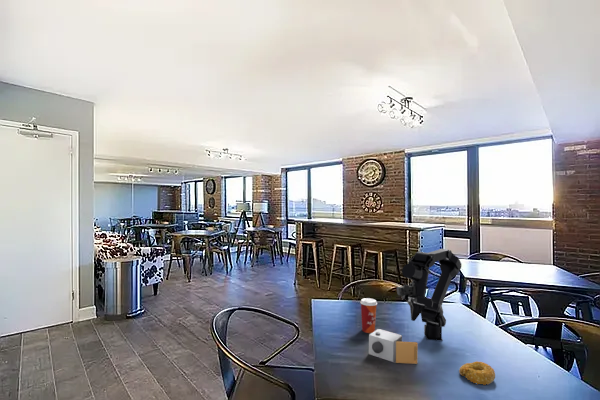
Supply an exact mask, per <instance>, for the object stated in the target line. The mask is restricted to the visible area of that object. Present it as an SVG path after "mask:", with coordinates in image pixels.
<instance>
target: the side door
mask: <svg viewBox="0 0 600 400" xmlns="http://www.w3.org/2000/svg"><path fill="white" fill-rule="evenodd" d="M418 344H419V343H418V342H416V341H402V342H401V341H394V362H393V363H394V364H412V365H415V364H416V365H417V364H418V354H419V353H418V346H419V345H418Z"/></svg>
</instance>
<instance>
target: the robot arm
mask: <svg viewBox="0 0 600 400" xmlns="http://www.w3.org/2000/svg"><path fill="white" fill-rule="evenodd" d="M436 262H438V264H439V265H440V266H439V269H440V272H441V273H440V275H439V277H438V281H437V283H436V285H435V288H434V291H433V293H432V296H431V297H430V298H429V297H427V296H426V291H427V290H428V289H429V287H428V280H429V275H431V274H432V272H431V270H430V268H432V267H433V266H435V263H436ZM461 269H462V262H461V259H460V258H459V257H458V256H456V255H455V254H454V253H453V252H452V250H450V249H446V248H439V249H436V250H432V251H429V252H424V251H423V252H422V251H417V252H415V254H414V255H413V256H412V258H411V259H410V260H408V261H407V263H406V264H405V265H404V266H403V267H402V268H401V273H402V275H403V278H407V279H409V280H412V281H411V282H410V283H409V285H408V284H406V285H404V284H403V286H396V293H397V296H400V297H401V299H402V300H406V303H407V304H408V306H409V311H410V321H412V322H415V321H416V320H417V318H418V317H419V316H420V317H421V322H422V323H425V324H424V326H423V329H424V331H423V334H424V336H425V339H426V340H430V341H440V342H443V336H442V335H443V332H442V331H443V327H444V328H445V327H446V323H447V319H446V317H445V316H444V309H443V303H444V300H445V299H446V298H445V297H446V295H447V292H448V289H449V288H450V285H451V281H452V280H453V278H454V277H456V276H457V275H458V274H459V272H460V271H461Z"/></svg>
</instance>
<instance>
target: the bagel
mask: <svg viewBox="0 0 600 400" xmlns="http://www.w3.org/2000/svg"><path fill="white" fill-rule="evenodd" d="M458 372H459V374H460V375H461V376H462V377H463V376H465V377H464V378H465V379H466V378H467V379H466V380H467V381H468V380H470V381H469V382H471V383H472V382H473V383H472V384H474V383H477V384H476V385H478V384H483V385H482V386H487V385H490V384H492V383H493V382H494V381H495V379H496V372H495V369H494V368H493V367H492V366H490V365H489V364H487V363H486V362H483V361H478V360H477V361H473V362H467V363H464V364H462V365H461V366H460V367H459V370H458ZM486 384H487V385H486Z"/></svg>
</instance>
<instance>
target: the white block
mask: <svg viewBox="0 0 600 400" xmlns="http://www.w3.org/2000/svg"><path fill="white" fill-rule="evenodd" d="M394 341H401V342H403V335H401V334H398V333H395V332H392V331H388V330H384V329H380V328H376V329H375V331H374V332H373V333H369V334H368V355H370V356H374V357H377V358H378V359H383V360H386V361H387V362H388V361H389V362H392V363H394Z"/></svg>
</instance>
